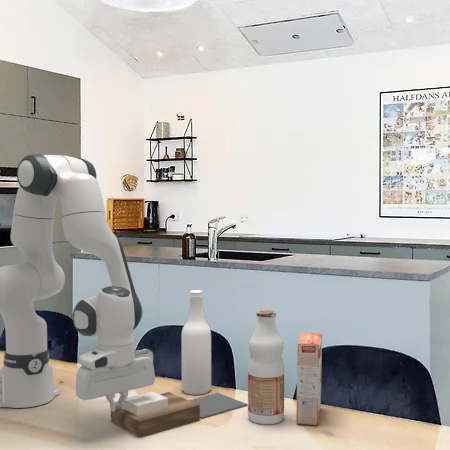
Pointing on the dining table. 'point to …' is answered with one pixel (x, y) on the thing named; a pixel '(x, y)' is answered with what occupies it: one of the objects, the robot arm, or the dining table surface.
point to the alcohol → (196, 349)
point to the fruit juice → (266, 371)
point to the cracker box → (309, 378)
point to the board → (158, 417)
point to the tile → (145, 403)
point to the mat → (216, 404)
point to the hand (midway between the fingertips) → (117, 410)
